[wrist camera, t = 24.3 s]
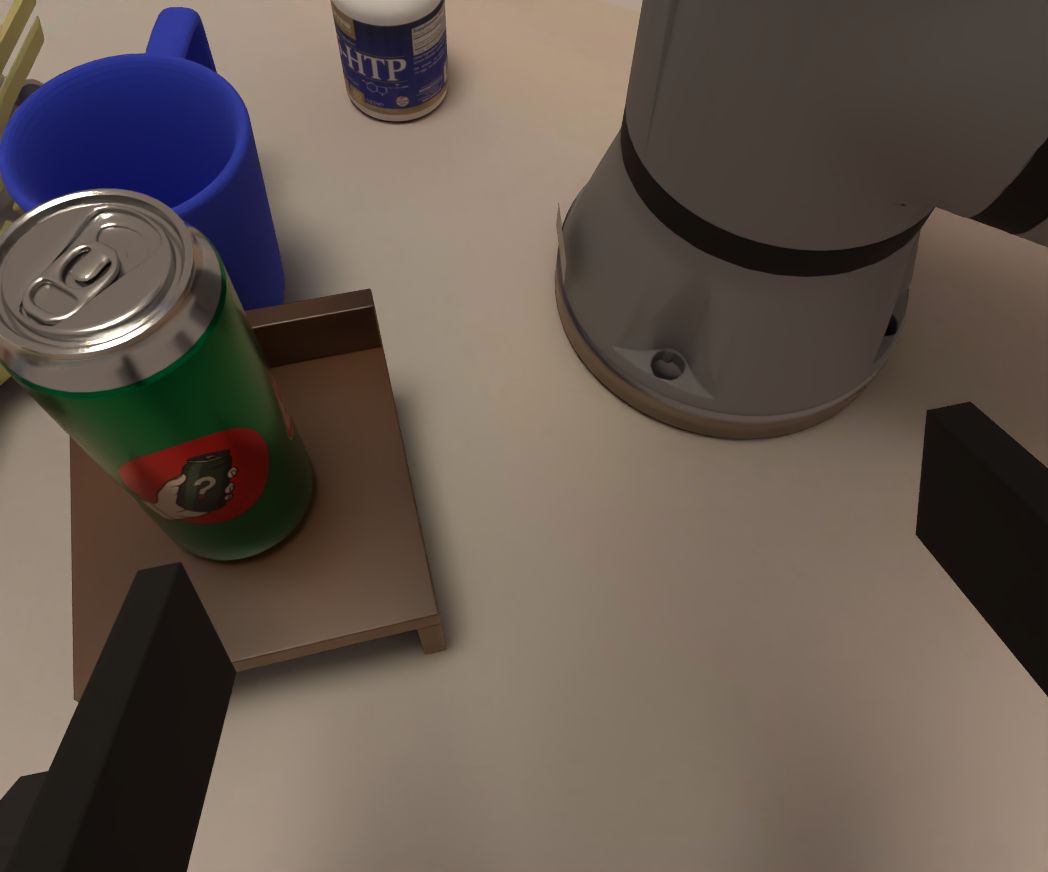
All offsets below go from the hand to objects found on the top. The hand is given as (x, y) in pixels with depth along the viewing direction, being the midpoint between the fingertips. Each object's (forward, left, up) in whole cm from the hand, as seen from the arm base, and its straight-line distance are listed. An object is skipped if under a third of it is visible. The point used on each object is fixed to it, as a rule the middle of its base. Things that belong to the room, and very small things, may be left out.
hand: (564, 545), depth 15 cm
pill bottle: (-1, -32, -17) cm, 36 cm away
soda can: (+8, -8, -12) cm, 17 cm away
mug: (+9, -22, -17) cm, 29 cm away
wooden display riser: (+8, -8, -17) cm, 20 cm away
